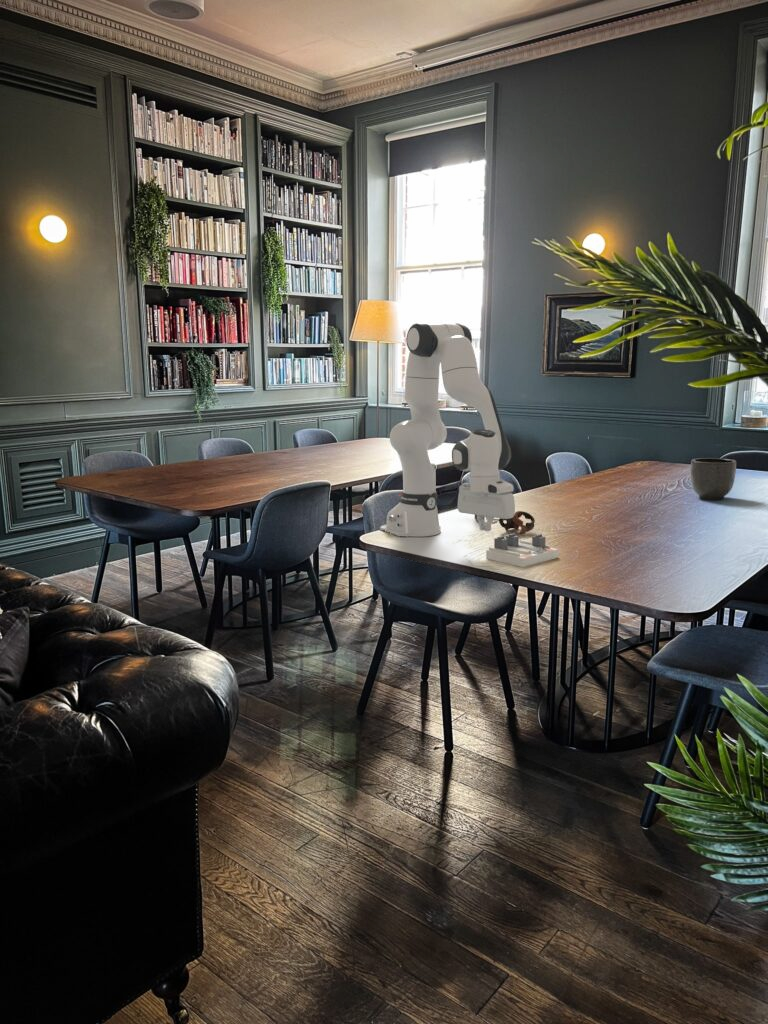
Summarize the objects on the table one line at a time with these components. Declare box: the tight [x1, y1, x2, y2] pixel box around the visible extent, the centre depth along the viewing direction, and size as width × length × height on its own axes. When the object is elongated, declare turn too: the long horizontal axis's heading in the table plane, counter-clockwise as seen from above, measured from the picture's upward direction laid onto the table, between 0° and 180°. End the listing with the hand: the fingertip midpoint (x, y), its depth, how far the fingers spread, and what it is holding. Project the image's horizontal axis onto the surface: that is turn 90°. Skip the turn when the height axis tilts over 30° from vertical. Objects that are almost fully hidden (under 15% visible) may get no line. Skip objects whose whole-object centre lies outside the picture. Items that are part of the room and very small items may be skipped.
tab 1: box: [493, 535, 508, 550], centre depth 226 cm, size 3×2×4 cm
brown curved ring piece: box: [498, 510, 536, 535], centre depth 261 cm, size 12×10×8 cm
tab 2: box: [531, 533, 546, 548], centre depth 228 cm, size 3×2×4 cm
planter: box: [690, 457, 737, 501], centre depth 318 cm, size 17×17×16 cm
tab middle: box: [505, 532, 520, 547], centre depth 229 cm, size 3×2×4 cm
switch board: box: [485, 539, 559, 568], centre depth 227 cm, size 14×16×3 cm
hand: (485, 530), depth 231 cm, fingers closed
